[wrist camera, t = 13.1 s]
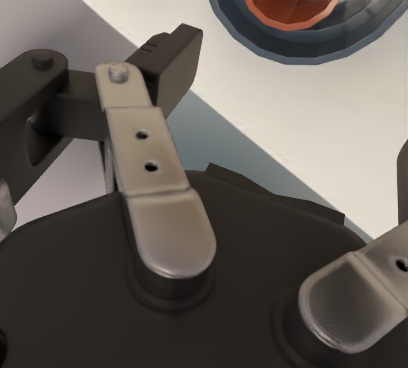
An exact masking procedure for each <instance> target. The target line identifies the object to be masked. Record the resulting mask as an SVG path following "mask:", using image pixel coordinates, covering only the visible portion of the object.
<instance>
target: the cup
mask: <svg viewBox="0 0 408 368" xmlns="http://www.w3.org/2000/svg"><path fill="white" fill-rule="evenodd" d="M245 1H246V4H247V6H248V8H249V10H250V11H251V12H252V13H253V14H254V15H256V16H257V17H258V18H259V19H260V20H261V21H262V22H263V23H264V24H265V25H268V26H271V27H274V28H277V29H280V30H283V31H291V30H298V29H305V28H310V27H311V26H313V25H314V24H316V23H317V22H319V21H321V20H322V19H324V18H325V17H327V16H328V15H329V14H331V12H332V11H333V9H334V8H335V6H336V5H337V3H338V2H339V0H245Z"/></svg>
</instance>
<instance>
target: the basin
mask: <svg viewBox="0 0 408 368" xmlns="http://www.w3.org/2000/svg"><path fill="white" fill-rule="evenodd" d="M209 2H210V4H211V7H212V9H213V12H214V13H215V15H216V16H217V18H218V19H219V20H220V21H221V23H222V24H223V25H224V27H225V28H226V29H227V30H228V32H229V33H230V34H231V36H232V37H234V39H235V40H237V41H238V42H240V43H241V44H242V45H244V46H245V47H247V48H248V49H249V50H251V51H252V52H254V53H255V54H256V55H258V56H261V57H264V58H267V59H270V60H273V61H276V62H279V63H282V64H286V65H319V64H322V63H326V62H330V61H333V60H337V59H341V58H344V57H348V56H350V55H352V54H353V53H355V52H357V51H358V50H360V49H362V48H363V47H365V46H367V45H368V44H370V43H372V42H373V41H375V40H377V39H378V38H379V37H381V36H382V35H383V34H384V33H385V32H386V31H387V30H388V29H389V28H390V27H391V26H392V25H393V24H394V23H395V21H396V20H397V19H398V18H399V17H400V16H401V15H402V14H403V13H404V12H405V11H406V10H407V9H408V0H339V2H338V3H337V5H336V6H335V8H334V9H333V11H332V12H331V14H329V15H328V16H327V17H325V18H324V19H322V20H321V21H319V22H317V23H316V24H314V25H313V26H311V27H310V28H305V29H298V30H291V31H283V30H280V29H277V28H274V27H271V26H268V25H265V24H264V23H263V22H262V21H261V20H260V19H259V18H258V17H257V16H256V15H254V14H253V13H252V12H251V11H250V10H249V8H248V6H247V4H246V1H245V0H209Z"/></svg>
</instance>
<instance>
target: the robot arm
mask: <svg viewBox="0 0 408 368" xmlns="http://www.w3.org/2000/svg"><path fill="white" fill-rule="evenodd" d="M202 38H203V31H202V30H201V29H198V28H195V27H192V26H189V25H186V24H183V23H182V24H181V25H179V26H178V27H177V28H176V29H175V30H174V31H173V32H172V33H171V34H169V33H166V32H164V33H161V34H157V35H154V36H152V37H151V38H150V39H149V40H148V41H147V42H146V44H145V43H144V44H143V45H142V46H141V47H140V49H138V50H137V51H136V52H134V54H132V55H131V56H130V57H129V58H128V59H127V60H125V61H124V62H122V61H109V62H105V63H102V64H100V65H99V66H97V67H96V69H95V73H90V72H82V71H76V70H69V68H68V60H67V58H66V57H65V56H64V55H63V54H62V53H59V52H57V51H54V50H49V49H34V50H30V51H26V52H24V53H23V54H21V55H19V56H18V57H16V58H15V59H14V60H12V61H11V62H9V63H8V64H6V65H5V66H4V67H2V68H1V69H0V368H408V140H407V141H406V142H405V144H404V145H403V147H402V148H401V150H400V152H399V155H398V158H397V189H398V224H399V225H398V226H396V227H395V228H393V229H392V230H390V231H388V232H387V233H385V234H383V235H382V236H380V237H378V238H377V239H375V240H374V241H372V242H370V243H369V244H366V243H365V242H364V241H363V240H362V239H361V238H360V237H359V236H358V235H357V234H356V233H354V232H353V231H352V230H350V229H349V228H348V227H346V226H344V217H345V214H343V213H341V212H338V211H335V210H333V209H330V208H327V207H325V206H322V205H320V204H317V203H314V202H312V201H308V200H302V199H297V198H292V197H286V196H281V195H275V194H273V193H271V192H269V191H268V190H266V189H265V188H263V187H261V186H260V185H258V184H256V183H255V182H253V181H251V180H250V179H248V178H246V177H245V176H243V175H241V174H239V173H236V172H233V171H231V170H228V169H226V168H223V167H220V166H217V165H215V164H213V163H209V165H208V167H207V169H206V171H199V170H184V167H183V165H182V162H181V159H180V156H179V154H178V151H177V149H176V145H175V143H174V140H173V137H172V135H171V132H170V129H169V126H168V124H167V121H166V119H167V117H168V116H169V115H170V113H171V112H172V111H173V109H174V108H175V107H176V105H177V104H178V103H179V101H180V100H181V99H182V97H183V96H184V95H185V94H186V92H187V91H188V90H189V88H190V87H191V85H192V83H193V81H194V78H195V75H196V71H197V66H198V60H199V55H200V49H201V44H202ZM29 117H30V119H29ZM28 119H29V120H28ZM27 120H28V121H27ZM73 138H79V139H88V140H95V141H98V148H99V153H100V159H101V165H102V170H103V176H104V181H105V189H106V195H103V196H101V197H98V198H95V199H92V200H89V201H87V202H84V203H81V204H78V205H75V206H72V207H69V208H66V209H64V210H61V211H58V212H55V213H52V214H49V215H46V216H43V217H41V218H38V219H35V220H33V221H30V222H28V223H26V224H24V225H22V226H20V227H18V228H17V229H15V230H14V231H12V229H13V228H14V226H15V224H16V221H17V214H16V211H15V207H14V206H15V205H16V204H17V203H18V201H19V200H20V199H21V198H22V197H23V196H24V195H25V193H26V192H27V191H28V190H29V189H30V188H31V187H32V185H33V184H34V183H35V182H36V181H37V180H38V179H39V177H40V176H41V175H42V174H43V173H44V172H45V171H46V170H47V168H48V167H49V166H50V165H51V164H52V163H53V162H54V160H55V159H56V158H57V157H58V156H59V155H60V153H62V151H63V150H64V149H65V148H66V147H67V146H68V144H69V143H70V142H71V141H72V140H73ZM11 231H12V232H11Z"/></svg>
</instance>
